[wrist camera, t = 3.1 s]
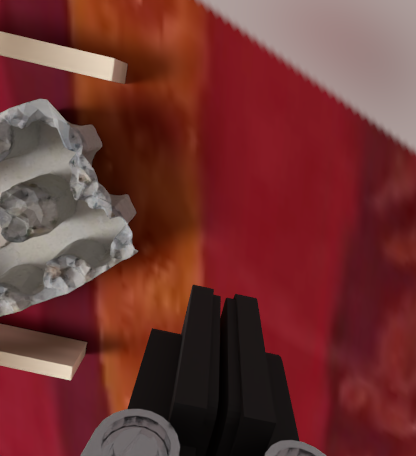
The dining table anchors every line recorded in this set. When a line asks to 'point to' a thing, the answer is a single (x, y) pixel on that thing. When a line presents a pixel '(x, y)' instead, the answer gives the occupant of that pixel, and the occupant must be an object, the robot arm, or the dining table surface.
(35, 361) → the channel
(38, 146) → the egg carton
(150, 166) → the dining table surface
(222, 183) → the dining table surface
